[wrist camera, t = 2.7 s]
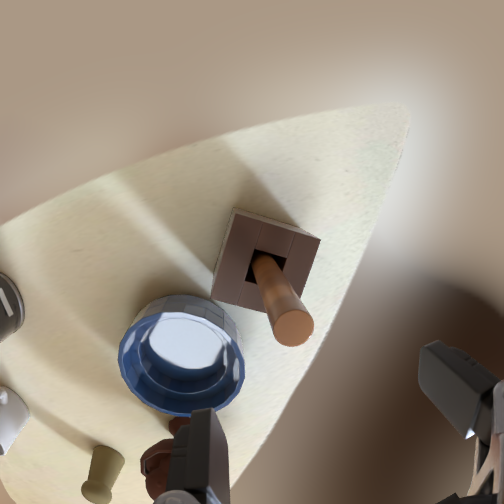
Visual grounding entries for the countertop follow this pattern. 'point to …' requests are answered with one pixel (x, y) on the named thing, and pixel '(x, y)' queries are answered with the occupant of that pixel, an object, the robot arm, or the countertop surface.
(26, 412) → the mug
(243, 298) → the stand
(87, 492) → the cork
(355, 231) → the countertop surface
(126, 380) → the blue round bowl
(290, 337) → the stirring stick
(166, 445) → the ice cream bowl
